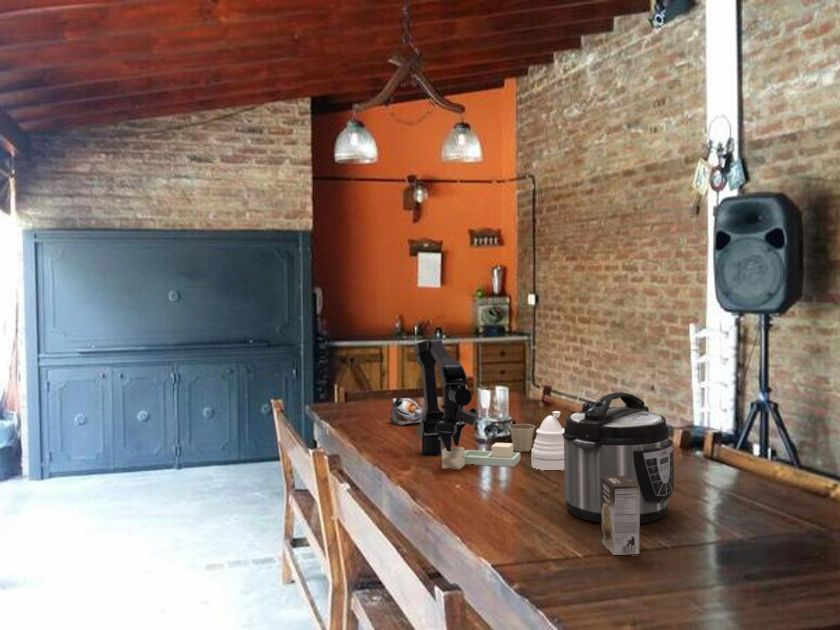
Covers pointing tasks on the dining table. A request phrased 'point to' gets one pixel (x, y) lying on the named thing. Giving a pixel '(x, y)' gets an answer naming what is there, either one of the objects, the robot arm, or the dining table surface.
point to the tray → (493, 456)
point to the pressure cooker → (617, 455)
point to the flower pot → (522, 436)
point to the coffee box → (620, 515)
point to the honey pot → (549, 445)
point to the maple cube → (453, 458)
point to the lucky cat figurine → (405, 411)
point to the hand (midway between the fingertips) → (453, 448)
